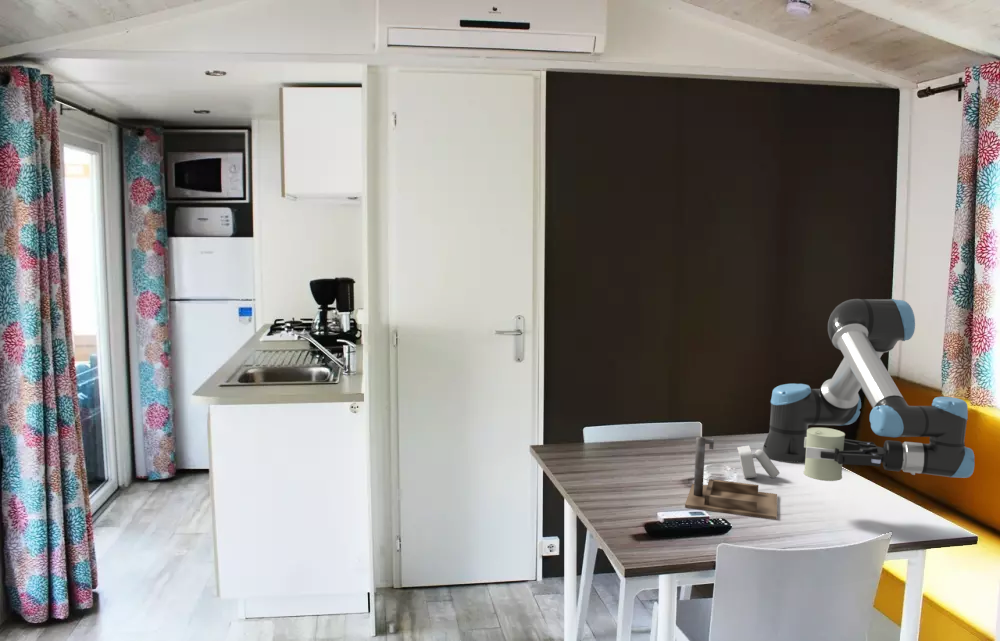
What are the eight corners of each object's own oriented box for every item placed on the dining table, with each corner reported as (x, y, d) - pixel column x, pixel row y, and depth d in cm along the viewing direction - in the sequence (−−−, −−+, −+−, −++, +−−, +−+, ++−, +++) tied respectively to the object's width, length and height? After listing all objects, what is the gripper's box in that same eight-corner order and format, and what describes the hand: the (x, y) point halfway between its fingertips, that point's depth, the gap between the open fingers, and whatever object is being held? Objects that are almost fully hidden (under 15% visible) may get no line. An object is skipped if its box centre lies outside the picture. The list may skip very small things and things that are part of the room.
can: (795, 472, 203) (798, 427, 201) (821, 468, 206) (824, 424, 205) (823, 483, 194) (826, 436, 193) (850, 478, 198) (853, 432, 197)
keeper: (776, 496, 214) (780, 437, 212) (776, 519, 198) (780, 455, 195) (692, 486, 222) (694, 429, 220) (684, 507, 205) (687, 445, 203)
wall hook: (782, 480, 226) (775, 447, 226) (746, 486, 229) (739, 453, 228) (778, 472, 234) (771, 440, 233) (743, 477, 236) (736, 446, 236)
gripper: (908, 484, 184) (806, 473, 191) (893, 458, 205) (802, 449, 212) (910, 454, 183) (808, 444, 190) (896, 431, 204) (804, 423, 211)
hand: (805, 447), depth 201 cm, fingers closed on can, 9 cm apart
